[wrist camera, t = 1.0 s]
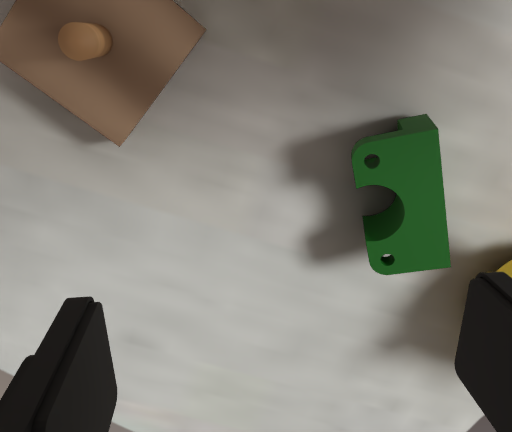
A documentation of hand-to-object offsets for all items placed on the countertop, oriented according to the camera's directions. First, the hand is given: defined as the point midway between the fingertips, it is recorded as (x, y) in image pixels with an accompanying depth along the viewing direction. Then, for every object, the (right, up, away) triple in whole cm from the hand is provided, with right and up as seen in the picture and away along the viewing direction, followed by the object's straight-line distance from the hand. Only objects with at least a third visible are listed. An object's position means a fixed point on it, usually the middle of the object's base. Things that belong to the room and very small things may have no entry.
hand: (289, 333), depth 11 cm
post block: (-11, +16, +20) cm, 28 cm away
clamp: (+10, +6, +27) cm, 29 cm away
